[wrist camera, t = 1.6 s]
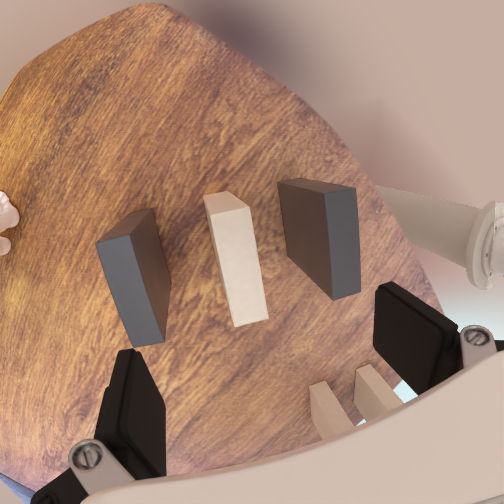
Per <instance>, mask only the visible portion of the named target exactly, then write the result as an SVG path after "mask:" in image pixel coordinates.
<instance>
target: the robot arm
mask: <svg viewBox="0 0 504 504" xmlns="http://www.w3.org/2000/svg"><path fill="white" fill-rule="evenodd" d="M481 266H482V271H483V273H484V275H485V276H487V277H488V278H495V277H497V276H498V275H499V274H500V275H502V276H504V217H499V218H497V219H496V220H495V221H494V222H493V223H492V225H491V226H490V228H489V230H488V232H487V234H486V237H485V240H484V244H483V248H482V255H481ZM457 329H458V325H457V324H455V323H454V322H453V321H451V320H450V319H448V318H447V317H445V316H444V315H442V314H441V313H440V312H438V311H437V310H435V309H434V308H432V307H431V306H429V305H428V304H426V303H425V302H423V301H422V300H420V299H419V298H417V297H416V296H414V295H413V294H411V293H410V292H408V291H407V290H405V289H404V288H402V287H401V286H399V285H397V284H396V283H394V282H392V281H390V282H387V283H384V284H381V285H379V287H378V290H376V292H375V312H374V331H373V347H374V349H375V350H376V351H377V352H378V354H379V355H380V356H381V357H382V358H383V359H384V360H385V361H386V362H387V363H388V364H389V365H390V366H391V367H392V368H393V369H394V370H395V371H396V372H397V374H398V375H399V376H400V377H401V378H402V379H403V380H404V381H405V382H406V383H407V384H408V385H409V386H410V387H411V388H412V389H413V391H414V392H415V393H416V394H417V395H418V396H417V397H415V398H414V399H412V400H410V401H408V402H406V403H404V404H403V405H401V406H399V407H397V408H395V409H393V410H391V411H389V412H387V413H385V414H383V415H381V416H378V417H376V418H374V419H372V420H370V421H368V422H366V423H363V424H361V425H359V426H356V427H354V428H352V429H349V430H347V431H344V432H342V433H339V434H337V435H334V436H332V437H329V438H326V439H324V440H321V441H318V442H315V443H313V444H310V445H307V446H304V447H301V448H297V449H294V450H291V451H288V452H285V453H281V454H278V455H274V456H271V457H267V458H263V459H259V460H255V461H251V462H247V463H242V464H238V465H233V466H228V467H223V468H218V469H212V470H207V471H201V472H195V473H188V474H181V475H173V476H167V473H166V407H165V403H164V400H163V398H162V396H161V394H160V392H159V390H158V388H157V386H156V384H155V382H154V380H153V378H152V376H151V374H150V372H149V370H148V368H147V366H146V363H145V361H144V359H143V357H142V355H141V353H140V352H139V351H137V352H136V351H135V350H134V349H133V348H131V349H126V350H120V351H119V352H118V354H117V358H116V361H115V365H114V369H113V372H112V376H111V380H110V384H109V386H108V387H107V388H106V389H105V392H104V396H103V400H102V404H101V408H100V412H99V416H98V421H97V425H96V430H95V435H94V439H85V440H82V441H80V442H78V443H77V444H75V445H74V446H73V447H72V449H71V450H70V452H69V455H68V462H69V465H70V468H69V469H67V470H66V471H65V472H63V473H62V474H61V475H59V476H58V477H57V478H55V479H54V480H52V481H51V482H50V483H48V484H47V485H45V486H44V487H43V488H41V489H40V490H38V491H37V492H36V493H35V494H34V495H33V497H32V499H31V503H30V504H504V340H494V338H493V335H492V333H491V332H490V331H489V330H488V329H486V328H485V327H482V326H479V325H469V326H467V327H465V328H463V329H462V330H461V332H460V333H459V332H458V331H457Z"/></svg>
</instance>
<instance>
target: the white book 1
mask: <svg viewBox="0 0 504 504" xmlns="http://www.w3.org/2000/svg"><path fill="white" fill-rule="evenodd" d="M203 200H204V205H205V210H206V215H207V220H208V225H209V229H210V234H211V239H212V243H213V248H214V253H215V257H216V262H217V266H218V271H219V275H220V278H221V282H222V285H223V289H224V293H225V296H226V300H227V303H228V307H229V310H230V314H231V317H232V321H233V324H234V327H237V326H241V325H245V324H249V323H253V322H257V321H261V320H265V319H268V318H269V317H268V311H267V305H266V299H265V293H264V287H263V281H262V275H261V270H260V264H259V258H258V252H257V246H256V240H255V234H254V228H253V223H252V217H251V211H250V207H249V206H248V205H246V204H245V203H244V202H242V201H241V200H240V199H238V198H237V197H236V196H234V195H233V194H231V193H230V192H229V191H224V192H219V193H214V194H209V195H205V196H203Z"/></svg>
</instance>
